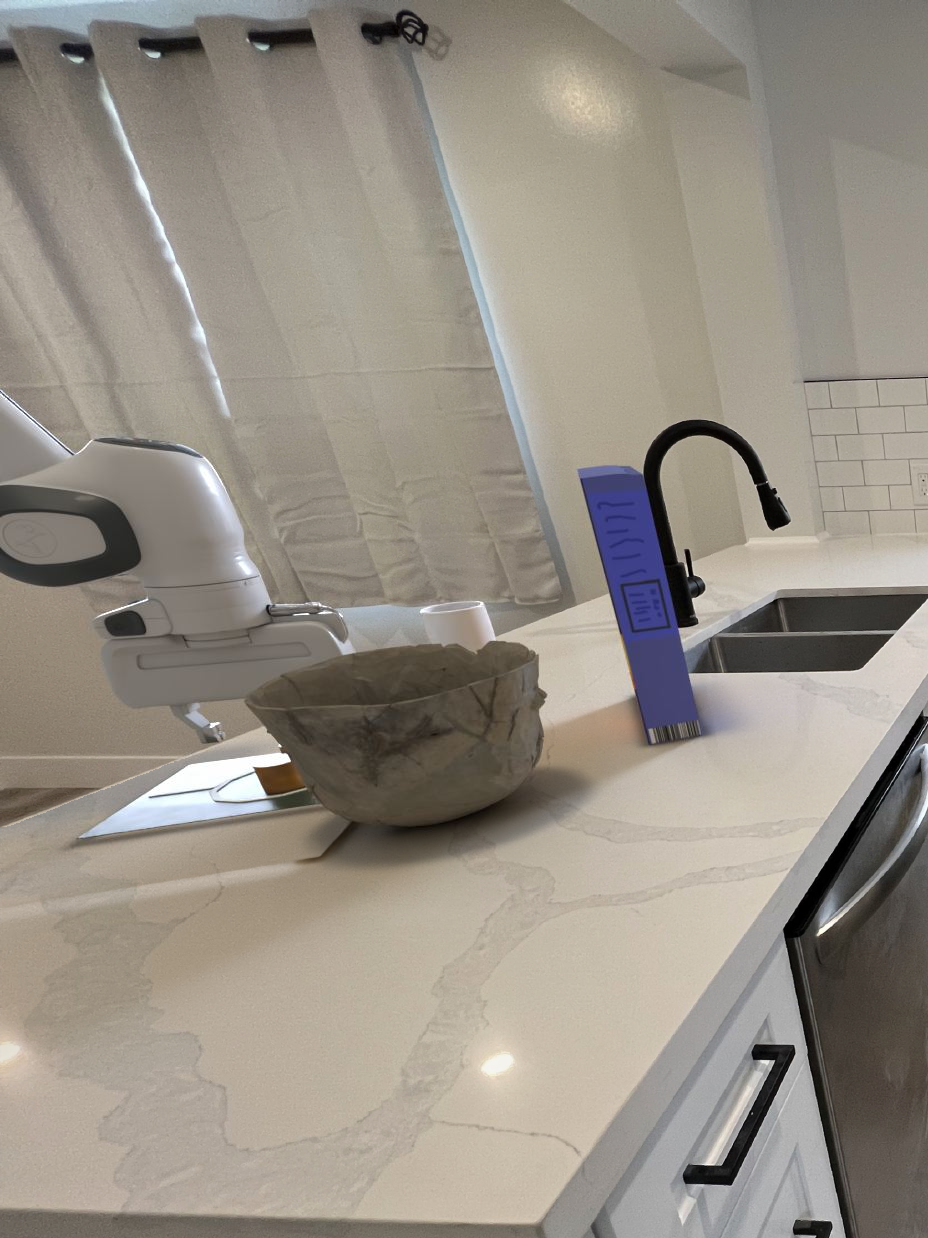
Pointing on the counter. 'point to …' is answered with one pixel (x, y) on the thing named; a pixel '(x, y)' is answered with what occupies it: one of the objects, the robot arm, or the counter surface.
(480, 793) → the bowl
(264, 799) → the board
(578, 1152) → the counter surface
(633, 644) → the cereal box
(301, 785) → the orange white short cylinder
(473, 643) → the white plastic cylinder
